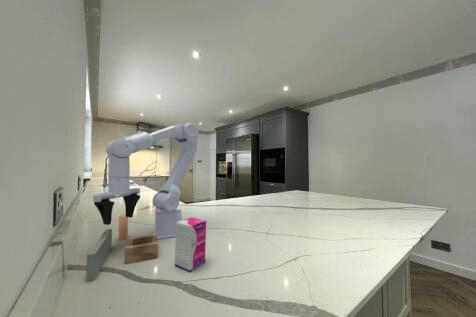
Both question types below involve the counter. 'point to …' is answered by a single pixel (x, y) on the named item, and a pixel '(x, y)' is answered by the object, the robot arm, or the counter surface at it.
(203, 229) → the supplement box
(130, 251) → the socket block
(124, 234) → the dowel
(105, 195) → the robot arm
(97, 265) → the wall
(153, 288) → the counter surface
